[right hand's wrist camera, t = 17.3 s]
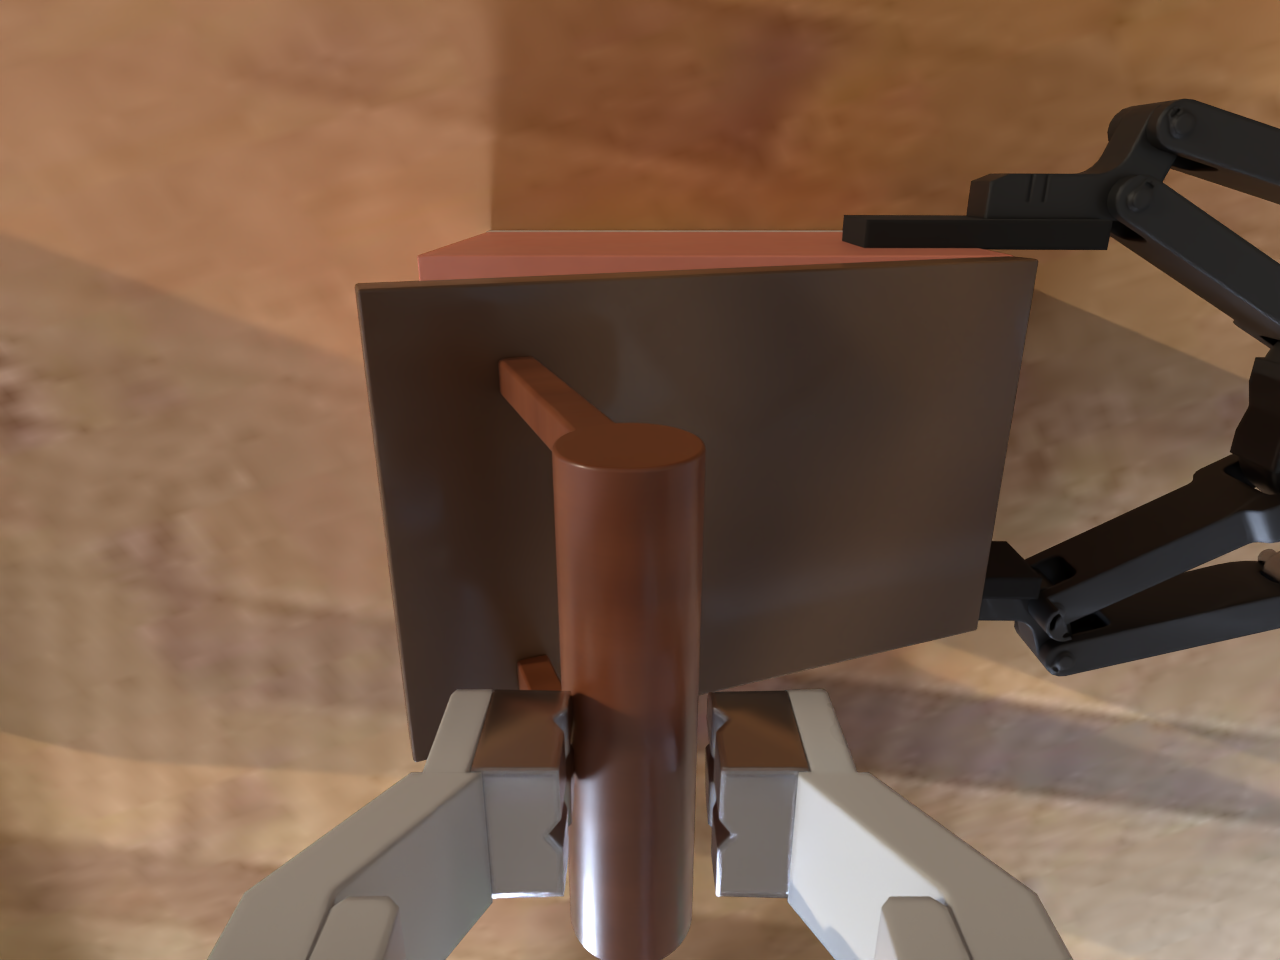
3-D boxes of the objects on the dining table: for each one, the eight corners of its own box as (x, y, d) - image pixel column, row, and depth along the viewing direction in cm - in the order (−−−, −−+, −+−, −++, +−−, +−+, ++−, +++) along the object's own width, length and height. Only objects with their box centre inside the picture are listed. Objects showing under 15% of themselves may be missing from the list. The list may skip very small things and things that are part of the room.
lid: (409, 737, 18) (472, 1091, 11) (354, 283, 15) (394, 380, 8) (953, 614, 23) (1233, 804, 16) (1009, 255, 20) (1396, 299, 13)
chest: (506, 488, 32) (449, 610, 23) (489, 230, 29) (416, 254, 20) (871, 489, 32) (958, 613, 23) (898, 230, 29) (1015, 255, 20)
